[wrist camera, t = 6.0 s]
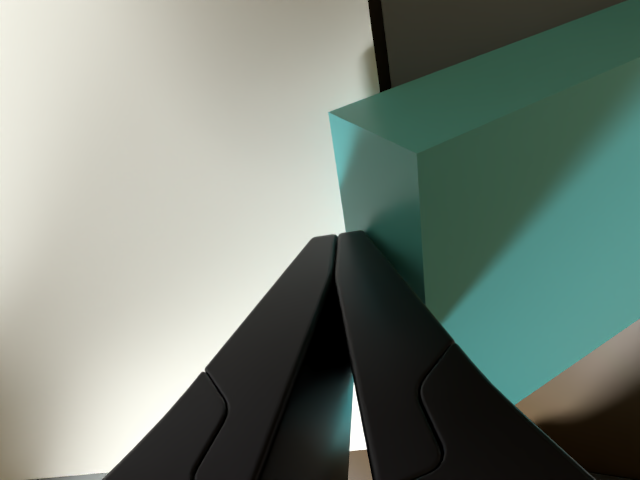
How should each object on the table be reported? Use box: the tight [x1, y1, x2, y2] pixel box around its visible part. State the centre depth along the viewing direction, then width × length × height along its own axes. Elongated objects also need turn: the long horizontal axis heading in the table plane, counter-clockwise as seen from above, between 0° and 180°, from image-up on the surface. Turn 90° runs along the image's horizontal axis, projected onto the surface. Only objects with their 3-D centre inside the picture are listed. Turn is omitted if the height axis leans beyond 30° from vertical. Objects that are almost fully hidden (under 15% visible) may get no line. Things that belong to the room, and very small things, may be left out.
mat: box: [381, 0, 627, 88], centre depth 13 cm, size 10×9×1 cm
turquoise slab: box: [328, 0, 640, 405], centre depth 11 cm, size 8×6×2 cm
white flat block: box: [0, 0, 380, 480], centre depth 13 cm, size 13×12×4 cm
